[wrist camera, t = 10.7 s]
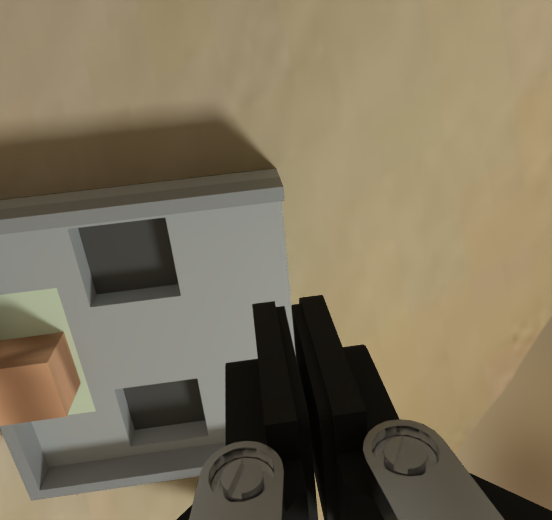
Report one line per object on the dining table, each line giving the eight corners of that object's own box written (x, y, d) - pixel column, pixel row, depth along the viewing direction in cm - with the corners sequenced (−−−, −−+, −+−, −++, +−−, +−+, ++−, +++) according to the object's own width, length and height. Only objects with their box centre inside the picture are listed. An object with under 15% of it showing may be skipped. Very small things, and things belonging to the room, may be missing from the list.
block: (63, 332, 39) (47, 362, 35) (80, 382, 41) (66, 416, 37) (-1, 340, 38) (-25, 372, 35) (19, 391, 41) (-1, 426, 37)
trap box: (276, 168, 37) (283, 186, 33) (299, 420, 48) (307, 460, 43) (-48, 205, 36) (-86, 230, 32) (49, 455, 47) (31, 500, 42)
